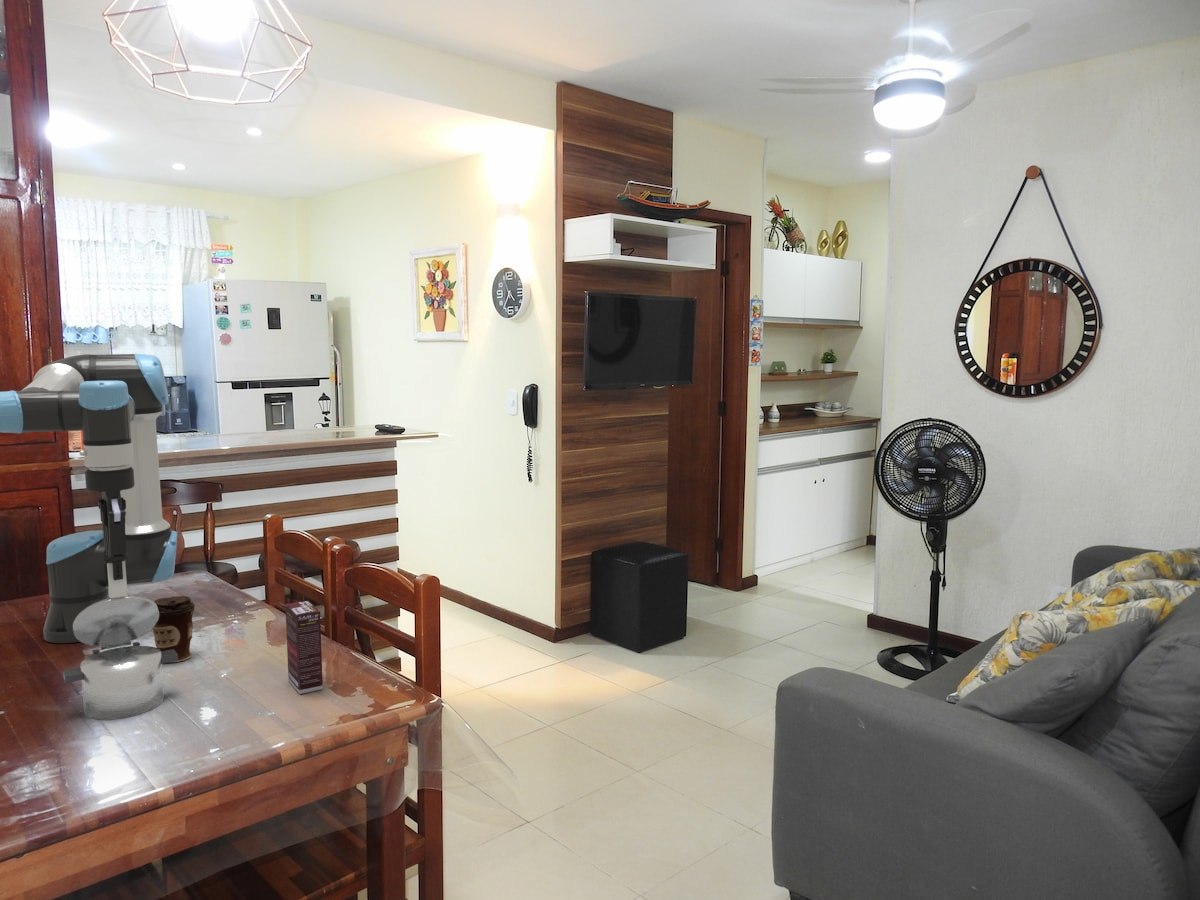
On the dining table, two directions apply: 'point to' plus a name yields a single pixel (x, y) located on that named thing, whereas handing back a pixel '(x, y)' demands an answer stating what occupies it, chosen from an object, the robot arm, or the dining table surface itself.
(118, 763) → the dining table surface
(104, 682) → the pot
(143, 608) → the lid
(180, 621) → the coffee cup
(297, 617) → the supplement box
